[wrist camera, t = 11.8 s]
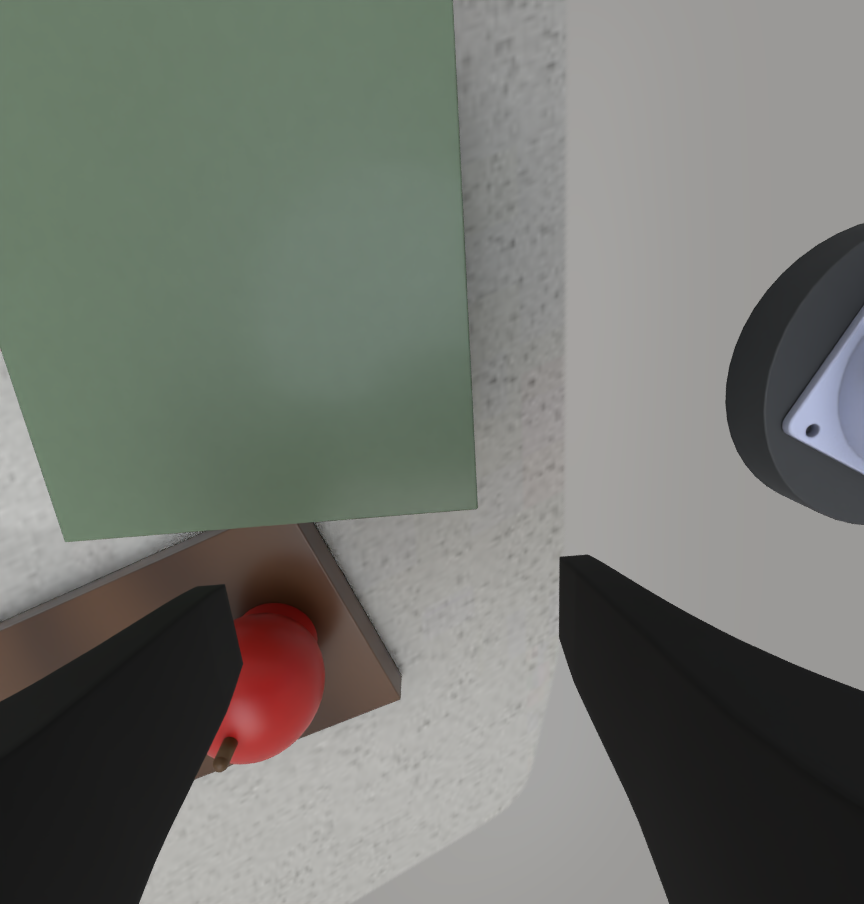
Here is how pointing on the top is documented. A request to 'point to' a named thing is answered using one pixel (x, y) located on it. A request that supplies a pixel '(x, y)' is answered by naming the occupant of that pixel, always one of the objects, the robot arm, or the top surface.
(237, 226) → the cabinet
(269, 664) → the apple
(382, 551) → the top surface
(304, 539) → the board
